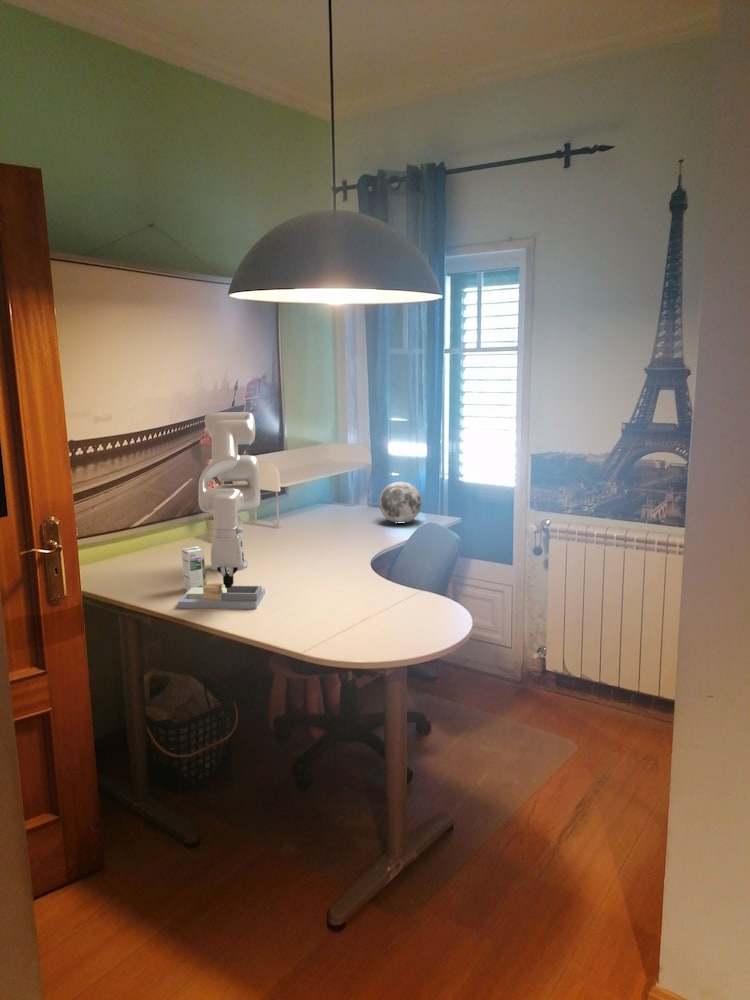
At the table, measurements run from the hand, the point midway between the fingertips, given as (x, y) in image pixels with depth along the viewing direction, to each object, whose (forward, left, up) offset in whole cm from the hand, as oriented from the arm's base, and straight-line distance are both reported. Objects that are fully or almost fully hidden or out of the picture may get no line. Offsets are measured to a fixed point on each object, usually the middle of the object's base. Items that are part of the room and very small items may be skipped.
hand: (228, 586), depth 238 cm
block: (+1, -5, -3) cm, 6 cm away
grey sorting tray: (-1, -2, -5) cm, 6 cm away
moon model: (-115, +55, -6) cm, 127 cm away
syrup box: (-13, -15, -6) cm, 20 cm away
